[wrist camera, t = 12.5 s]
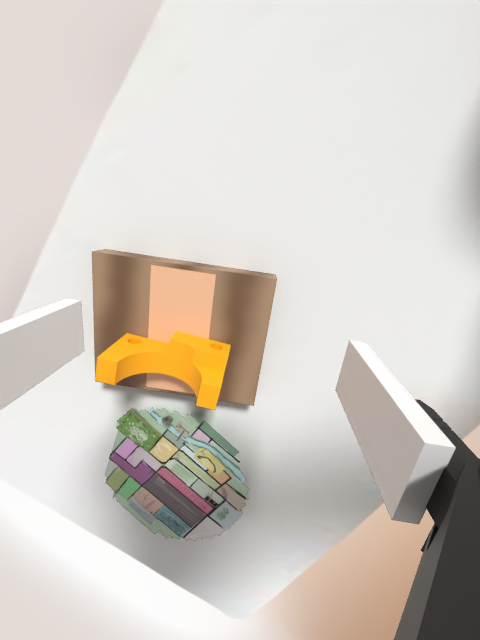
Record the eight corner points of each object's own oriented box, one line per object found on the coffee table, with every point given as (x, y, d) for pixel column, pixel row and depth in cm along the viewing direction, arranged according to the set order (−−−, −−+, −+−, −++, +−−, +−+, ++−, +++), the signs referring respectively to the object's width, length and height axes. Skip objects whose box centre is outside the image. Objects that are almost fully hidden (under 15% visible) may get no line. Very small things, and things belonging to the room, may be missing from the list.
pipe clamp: (230, 344, 32) (225, 372, 26) (222, 376, 34) (215, 410, 28) (128, 319, 32) (98, 340, 26) (124, 352, 33) (94, 380, 27)
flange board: (275, 274, 33) (277, 279, 30) (253, 392, 38) (253, 406, 35) (106, 249, 33) (90, 251, 30) (107, 369, 38) (94, 382, 35)
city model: (120, 367, 40) (92, 389, 35) (275, 426, 39) (272, 460, 33) (98, 489, 49) (72, 523, 43) (225, 541, 47) (216, 584, 41)
